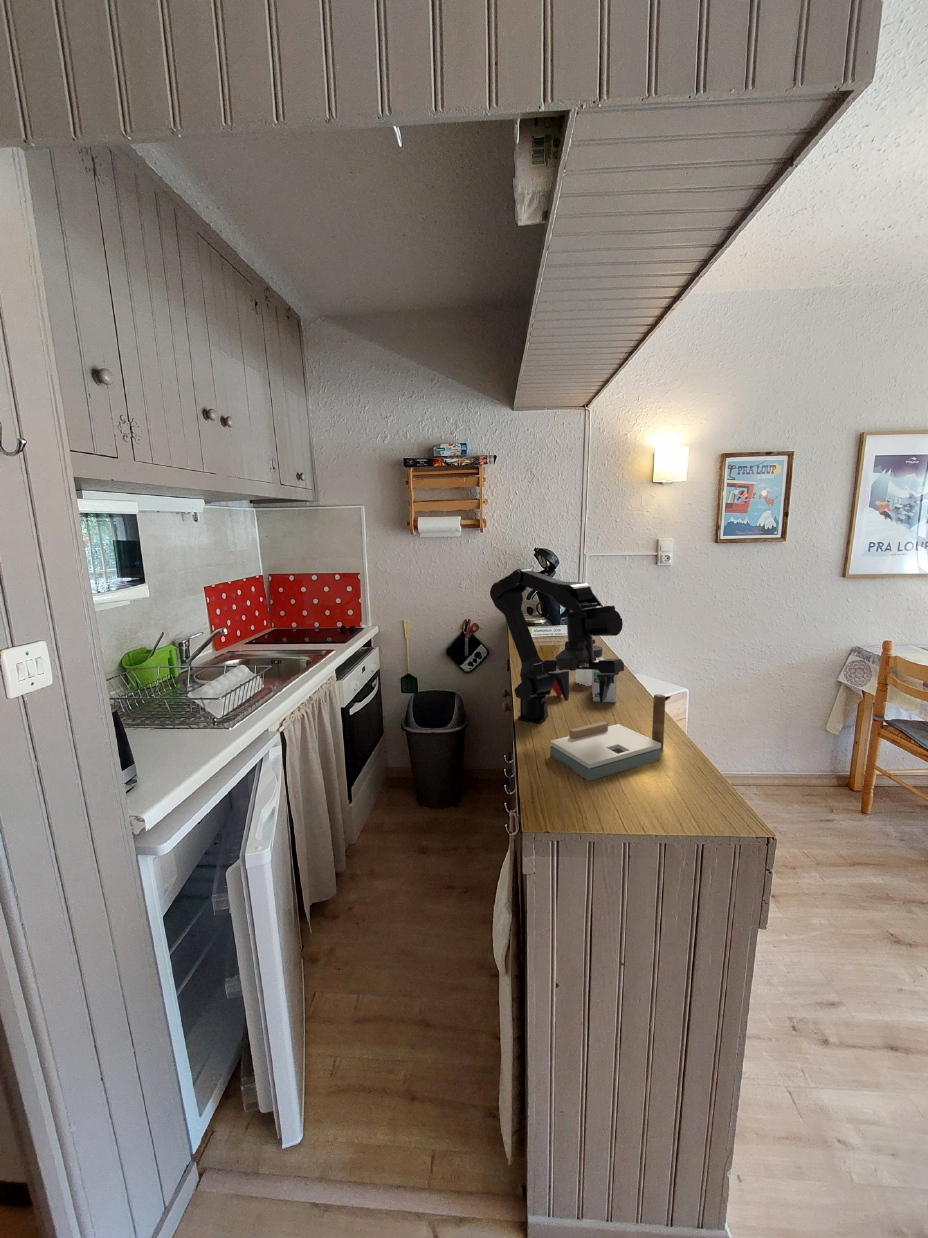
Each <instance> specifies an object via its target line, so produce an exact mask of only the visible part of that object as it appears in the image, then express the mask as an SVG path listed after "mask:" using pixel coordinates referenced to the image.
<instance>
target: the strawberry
mask: <svg viewBox="0 0 928 1238" xmlns="http://www.w3.org/2000/svg"><path fill="white" fill-rule="evenodd" d="M564 671H568V670H564ZM552 691H553V692H554V693H555V694H556V696H557V697H561V696H563V695H562V693H561V690H560V688H559V686H558V684H557V682H556V680H555V683H554V686H553V688H552Z"/></svg>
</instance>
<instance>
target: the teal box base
mask: <svg viewBox="0 0 928 1238" xmlns="http://www.w3.org/2000/svg"><path fill="white" fill-rule="evenodd" d="M549 746H550V747H549V748H550V749H549V751H550V752H549V755H550V758H552V759H553V760H555V761H557V762H558V763H560V764H561V765H563V766H565V767H566V768H568V769H569V770H570V771H572V772H574V773H576V774H577V775H579V776H581V777H582V778H583V779H585V780H586V781H588V782H590V781H593V780H597V779H601V778H603V777H607V776H610V775H613V774H617V773H621V772H623V771H627V770H630V769H633V768H636V767H640V766H643V765H647V764H649V763H653V762H657V761H659V760H661V757H662V750H661V749H660V748H659V749H655V750H652V751H648V752H645V753H641V754H638V755H634V756H631V757H628V758H624V759H621V760H617V761H614V762H610V763H607V764H603V765H600V766H596V767H593V768H587V767H586V766H584V765H582V764H581V763H579V762H577V761H576V760H574V759H572V758H571V757H569V756H568V755H566V754H564V753H563V752H561V751H559V750H558V749H556V748H554V747H553V746H551V745H549ZM612 751H613V752H615V753H617V754H619V753H622V752H624V751H622V750H620V749H615V750H612Z"/></svg>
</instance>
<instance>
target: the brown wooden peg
mask: <svg viewBox="0 0 928 1238" xmlns="http://www.w3.org/2000/svg"><path fill="white" fill-rule="evenodd" d="M665 716H666V695H664V694H658V693H657V694H653V706H652V728H651V732H652V734H651V739H652V740H654V741H657V742H659V743H661V748H660V749H661V751H663V749H664V743H665V742H664V740H665V739H664V738H665V719H666V718H665Z"/></svg>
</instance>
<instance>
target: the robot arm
mask: <svg viewBox="0 0 928 1238" xmlns="http://www.w3.org/2000/svg"><path fill="white" fill-rule="evenodd" d="M528 588H529V589H531V590H534V591H536V592H539V593H542V594H544V595H547V596H549V597H551V598H552V599H553V600H554V601H555V602H554V603H557V605H559V606H561V607H562V608H564V610H563V611H562V612H561V613H560V614H559V616H558V617H559V618H560V619H566V630H567V640H566V641H564V649H563V650H562V651H560V652H559V653H557V655H556V656H555V657H554V658H550V659H545V660H543V659H542V658H541V657H540V655H539V653H538V649H537V647H536V644H535V642H534V640H533V636H532V634H531V631H530V629H529V626H528V623H527V621H526V617H525V615H524V612H523V610H522V608H523V607H522V606H523V601H524V596H523V593H524V592H525V591H526V590H527V589H528ZM489 590H490V591H489V595H490V598H491V600H492V603H493V605H494V606H495V608H496V610H498V611H500V613H502V614H503V615H504V618H505V621H506V623H507V627H508V630H509V631H510V635H511V637H512V640H513V642H514V645H515V649H516V651H517V654H518V657H519V659H520V662H521V667H520V673H519V677H520V681H521V682H520V683H519V684H518V685H517V686H516V687H515V688H514V695H515V697H516V698H517V699H519V702H520V704H519V705H520V706H519V708H520V709H519V710H520V711H519V713H520V714H519V715H518V716H517V720H521V721H526V722H530V723H531V722H532V723H537V724H541V723H542V722H543V721H544V720H545V719H546V718H548V716H549V712H548V711H549V708H548V707H549V704H548V703H549V702H548V701H547V696H550V695H551V692H552V691H553V689H552V688H553V686H554V683H555V680H556V682H557V684H558V686H559V688H560V690H561V693H562V695H561V696H562V698H563V699H564V701H566V702H568V701H569V700H570V699H569V698H570V671H571V672H572V671H573V672H574V671H576V670H577V669H590V670H598V671H599V672H600V673H601V674H598V675H597V677H598V679H599V697H600V702H599V704H604V703H605V702H604V701H605V698H606V695H607V692H608V689H609V687H610V684H611V682H612V680H613V678H614V676H615V675H617V676H618V675H619V674H620V672H624V671H625V663H624V661H623V660H622V658H603V659H604V660H599V661H598V662H594V661H596V657H594V656H593V645H595V644H596V639H593V636H594V637H614V636H615V637H616V636H618V635H619V634H620V633H621V632H622V630H623V624H624V623H623V618H622V617H621V615H620V613H619V612H618V611H617V610H616V607H615V605H614V604H611V605H603V604H602V603H601V602H600V600H599V598H598V596H596V595H595V594H594V592H593V591H592V590H593V589H592V588H591V585H590V584H588V583H586V582H579V581H565V580H560V579H557V578H554V577H552V576H549V575H546V574H542V573H540V572H537V571H534V570H532V569H531V568H529V567H527V568H517V569H515V570H513V571H512V572H511V573H510V574H509V575H507V576H505V577H503V578H501V579H499V580H498V581H496V582H493V584H492V585H491V587H490V589H489ZM564 670H567V671H564Z"/></svg>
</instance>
